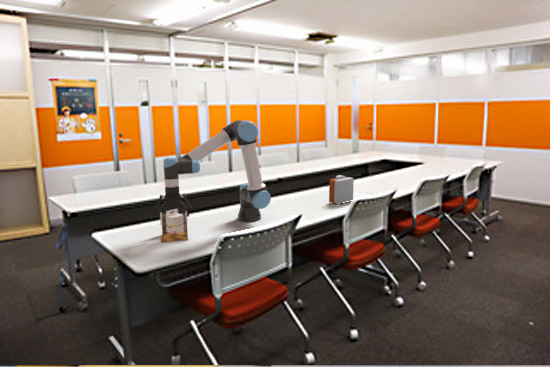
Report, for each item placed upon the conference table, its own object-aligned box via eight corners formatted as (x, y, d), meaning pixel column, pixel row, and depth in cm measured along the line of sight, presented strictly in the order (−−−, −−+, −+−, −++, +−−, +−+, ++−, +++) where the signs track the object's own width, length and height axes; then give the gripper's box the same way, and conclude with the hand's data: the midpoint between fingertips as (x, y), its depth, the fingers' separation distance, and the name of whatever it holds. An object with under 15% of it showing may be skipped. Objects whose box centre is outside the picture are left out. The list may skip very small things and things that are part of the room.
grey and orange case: (344, 199, 307) (345, 173, 303) (353, 201, 301) (354, 175, 297) (328, 203, 296) (329, 176, 292) (337, 205, 289) (338, 178, 285)
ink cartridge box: (172, 238, 215) (170, 212, 213) (166, 236, 219) (165, 211, 216) (184, 234, 222) (183, 209, 219) (179, 232, 225) (177, 208, 222)
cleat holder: (187, 232, 228) (186, 212, 226) (187, 240, 216) (186, 219, 213) (162, 234, 225) (161, 214, 223) (161, 242, 212) (160, 221, 210)
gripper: (194, 183, 221) (196, 219, 225) (148, 185, 215) (151, 222, 220) (195, 186, 214) (197, 223, 218) (147, 188, 208) (150, 226, 212)
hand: (174, 223), depth 219 cm, fingers open, 13 cm apart
